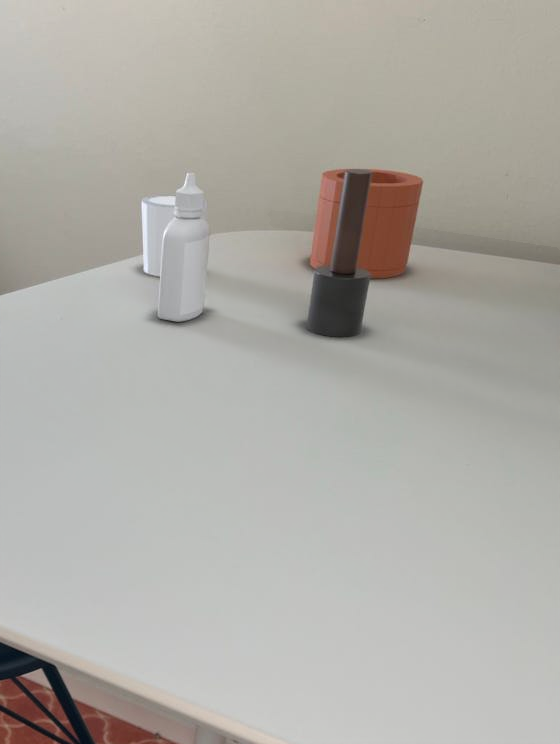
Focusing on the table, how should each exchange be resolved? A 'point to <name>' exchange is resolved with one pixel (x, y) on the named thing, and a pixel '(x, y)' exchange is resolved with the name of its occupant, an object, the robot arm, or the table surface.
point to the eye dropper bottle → (184, 257)
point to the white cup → (157, 228)
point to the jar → (371, 221)
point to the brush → (343, 267)
